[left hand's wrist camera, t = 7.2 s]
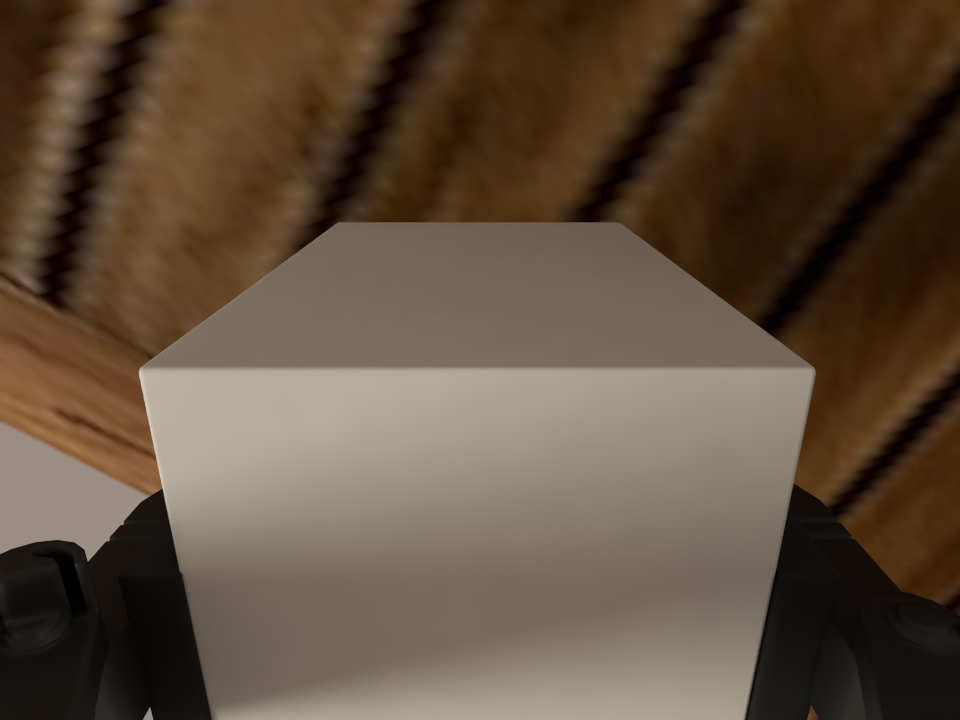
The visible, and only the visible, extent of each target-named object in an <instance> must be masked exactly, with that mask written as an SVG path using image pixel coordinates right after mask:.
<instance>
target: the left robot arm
mask: <svg viewBox="0 0 960 720" xmlns="http://www.w3.org/2000/svg"><path fill="white" fill-rule="evenodd" d="M811 705H812V707H813V709H814V711H815V712H816V714H817V716H818V718H819V720H960V616H959V615H958V614H956V613H955V612H953V611H951V610H949V609H948V608H946V607H944V606H942V605H940V604H938V603H936V602H934V601H932V600H929V599H926V598H923V597H920V596H917V595H914V594H911V593H905V592H901V591H900V589H899V588H898V587H897V586H896V585H895V584H894V583H893V582H892V580H891V579H890V578H889V577H888V576H887V575H886V574H885V573H884V571H883V570H882V569H881V568H880V567H879V566H878V565H877V564H876V562H875V561H874V560H873V559H872V558H871V557H870V556H869V555H868V553H867V552H866V551H865V550H864V549H863V548H862V547H861V546H860V544H859V543H858V542H857V541H856V540H855V539H852V538H851V534H850V533H849V532H848V531H847V530H846V529H845V528H844V527H843V525H842V524H841V523H837V519H836V518H835V516H834V515H833V514H832V513H831V512H830V511H829V510H828V509H827V507H826V506H825V505H824V504H823V503H822V502H821V501H820V500H819V499H817V498H816V497H814V496H813V495H811V494H809V493H808V492H806V491H805V490H803V489H801V488H800V487H798V486H797V485H795V484H793V488H792V493H791V498H790V503H789V508H788V513H787V518H786V523H785V528H784V532H783V537H782V542H781V547H780V552H779V557H778V562H777V567H776V572H775V577H774V582H773V587H772V591H771V596H770V601H769V606H768V611H767V616H766V621H765V626H764V631H763V636H762V641H761V646H760V651H759V655H758V660H757V665H756V670H755V675H754V680H753V685H752V690H751V695H750V700H749V705H748V710H747V715H746V719H745V720H807V718H808V714H809V710H810V706H811ZM149 708H151V712H152V716H153V720H212V718H211V713H210V708H209V703H208V698H207V694H206V689H205V684H204V679H203V674H202V669H201V664H200V659H199V655H198V650H197V645H196V640H195V635H194V630H193V625H192V620H191V616H190V611H189V606H188V601H187V596H186V591H185V586H184V582H183V577H182V573H181V572H180V570H179V565H178V560H177V555H176V550H175V546H174V541H173V536H172V531H171V526H170V521H169V516H168V512H167V507H166V502H165V497H164V492H163V489H161V490H160V491H158V492H156V493H155V494H153V495H152V496H150V497H148V498H147V499H145V500H144V501H142V502H141V503H140V504H139V505H138V506H137V507H136V508H135V509H134V511H133V512H132V513H131V514H130V515H129V516H128V517H127V518H126V520H125V521H124V525H120V526H119V528H118V529H117V530H116V531H115V532H114V533H113V534H112V535H111V537H110V541H109V542H105V543H104V545H103V546H102V547H101V548H100V549H99V550H98V551H97V552H96V554H95V555H94V556H93V557H92V558H91V559H90V560H89V561H87V558H86V554H85V550H84V549H83V548H81V547H80V546H79V545H77V544H76V543H74V542H67V541H61V540H53V541H43V542H35V543H31V544H28V545H25V546H21V547H18V548H14V549H11V550H9V551H6V552H4V553H2V554H0V720H143V718H144V716H145V715H146V713H147V711H148V709H149Z"/></svg>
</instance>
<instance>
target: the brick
mask: <svg viewBox="0 0 960 720" xmlns="http://www.w3.org/2000/svg"><path fill="white" fill-rule="evenodd" d="M815 375H816V372H815V368H814V367H813V366H811V365H810V364H809V363H807V362H806V361H804V360H803V359H802V358H800V357H799V356H798V355H796V354H795V353H794V352H792V351H791V350H790V349H788V348H787V347H786V346H784V345H783V344H782V343H780V342H779V341H778V340H776V339H775V338H774V337H772V336H771V335H770V334H768V333H767V332H766V331H764V330H763V329H762V328H760V327H759V326H758V325H756V324H755V323H754V322H752V321H751V320H750V319H748V318H747V317H746V316H744V315H743V314H742V313H740V312H739V311H737V310H736V309H735V308H733V307H732V306H731V305H729V304H728V303H727V302H725V301H724V300H723V299H721V298H720V297H719V296H717V295H716V294H715V293H713V292H712V291H711V290H709V289H708V288H707V287H705V286H704V285H703V284H701V283H700V282H699V281H697V280H696V279H695V278H693V277H692V276H691V275H689V274H688V273H687V272H685V271H684V270H683V269H681V268H680V267H679V266H677V265H676V264H674V263H673V262H672V261H670V260H669V259H668V258H666V257H665V256H664V255H662V254H661V253H660V252H658V251H657V250H656V249H654V248H653V247H652V246H650V245H649V244H648V243H646V242H645V241H644V240H642V239H641V238H640V237H638V236H637V235H636V234H634V233H633V232H632V231H630V230H629V229H628V228H626V227H625V226H624V225H622V224H621V223H337V224H336V225H334V226H333V227H332V228H330V229H329V230H328V231H326V232H325V233H323V234H322V235H321V236H319V237H318V238H317V239H315V240H314V241H313V242H311V243H310V244H308V245H307V246H306V247H304V248H303V249H302V250H300V251H299V252H298V253H296V254H295V255H293V256H292V257H291V258H289V259H288V260H287V261H285V262H284V263H283V264H281V265H280V266H278V267H277V268H276V269H274V270H273V271H272V272H270V273H269V274H268V275H266V276H265V277H263V278H262V279H261V280H259V281H258V282H257V283H255V284H254V285H253V286H251V287H250V288H248V289H247V290H246V291H244V292H243V293H242V294H240V295H239V296H238V297H236V298H235V299H234V300H232V301H231V302H229V303H228V304H227V305H225V306H224V307H223V308H221V309H220V310H219V311H217V312H216V313H214V314H213V315H212V316H210V317H209V318H208V319H206V320H205V321H204V322H202V323H201V324H199V325H198V326H197V327H195V328H194V329H193V330H191V331H190V332H189V333H187V334H186V335H184V336H183V337H182V338H180V339H179V340H178V341H176V342H175V343H174V344H172V345H171V346H169V347H168V348H167V349H165V350H164V351H163V352H161V353H160V354H159V355H157V356H156V357H155V358H153V359H152V360H150V361H149V362H148V363H146V364H145V365H144V366H142V367H141V368H140V371H139V376H140V381H141V386H142V390H143V395H144V400H145V405H146V410H147V415H148V420H149V424H150V429H151V434H152V439H153V444H154V449H155V453H156V458H157V463H158V468H159V473H160V478H161V483H162V487H163V492H164V497H165V502H166V507H167V512H168V516H169V521H170V526H171V531H172V536H173V541H174V546H175V550H176V555H177V560H178V565H179V570H180V572H181V573H182V577H183V582H184V586H185V591H186V596H187V601H188V606H189V611H190V616H191V620H192V625H193V630H194V635H195V640H196V645H197V650H198V655H199V659H200V664H201V669H202V674H203V679H204V684H205V689H206V694H207V698H208V703H209V708H210V713H211V718H212V720H745V719H746V715H747V710H748V705H749V700H750V695H751V690H752V685H753V680H754V675H755V670H756V665H757V660H758V655H759V651H760V646H761V641H762V636H763V631H764V626H765V621H766V616H767V611H768V606H769V601H770V596H771V591H772V587H773V582H774V577H775V572H776V567H777V562H778V557H779V552H780V547H781V542H782V537H783V532H784V528H785V523H786V518H787V513H788V508H789V503H790V498H791V493H792V488H793V483H794V478H795V473H796V468H797V464H798V459H799V454H800V449H801V444H802V439H803V434H804V429H805V424H806V419H807V414H808V409H809V405H810V400H811V395H812V390H813V385H814V380H815Z"/></svg>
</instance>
